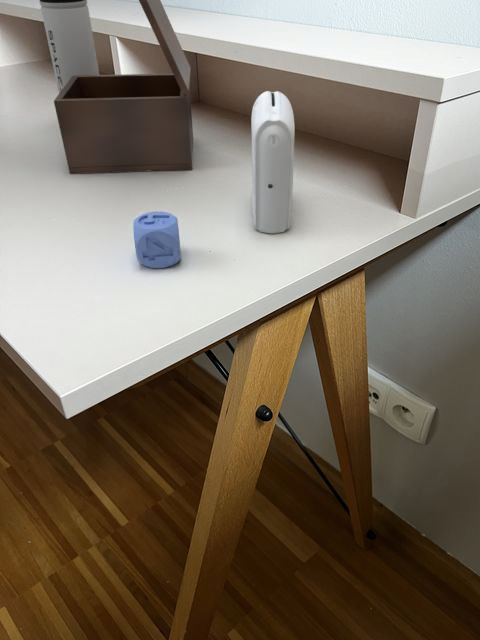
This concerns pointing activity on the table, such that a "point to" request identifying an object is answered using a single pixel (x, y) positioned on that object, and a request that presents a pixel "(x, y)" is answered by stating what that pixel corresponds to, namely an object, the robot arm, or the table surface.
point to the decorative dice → (157, 239)
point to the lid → (168, 42)
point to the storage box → (125, 123)
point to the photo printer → (272, 162)
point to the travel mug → (69, 39)
